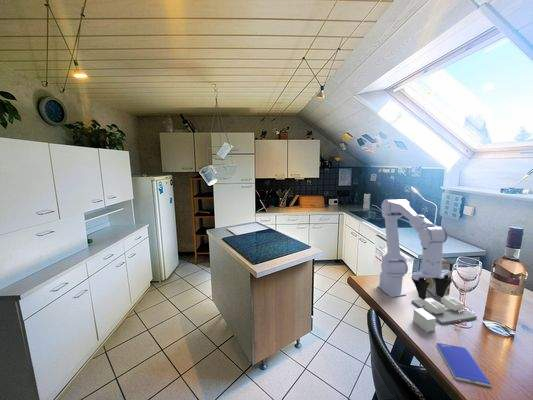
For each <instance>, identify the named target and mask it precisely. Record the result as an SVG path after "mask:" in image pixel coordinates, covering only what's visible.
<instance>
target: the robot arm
mask: <svg viewBox="0 0 533 400" xmlns="http://www.w3.org/2000/svg"><path fill="white" fill-rule="evenodd" d="M380 206H381V215H382V218H384V223H385V226H384V227H385V236H386V237H385V238H386V249H387V253H386V254H384V255H383V256H382V257H381V264H380V266H381V272H380V273H379V285H377V288H379V289H380V290H381V291H383V292H384V293H386V295H387V296H389V297H391V298H394V297H402V296H407V293H405V292H404V291H403V277H405V275H407V274H408V271H409V266H408V262H407V258H406V257H405V256H403V255H402V254H401V249H400V239H399V238H400V237H399V228H398V220H399V219H400V218H401V217H403V216H404V217H405V218H406V219H407V220H409V225H410V227H412V228H413V229H414V230H415V231H416V232H417V233H418V237H419V238H418V239H419V240H420V246H421V247H422V250H421V251H422V254H421V255H422V257H421V260H422V261H421V270H418V271H415V272H412V273H411V281H412V282H413V284H414V286H415V289H416V291H417V295H418V298H420V299H423V300H425V299H426V298H427V292H428V291H427V290H428V289H427V288H428V285H429V284H430V283H428V282H426V281H425V278H434V279H435V284H436V294H437V295H438V296H437V297H439V296H440V297H444V294H445V291H446V289H447V287H448V286H449V284H450V285H451V283H452V282H453V279H452V275H451V271H448V270H442V257H443V243H446V242H447V240H448V233H447V231H446V229H445V227H443V226H441V225H439V226H438V225H435V224H434V223H433V222H432V221H430V220H429V219H428V218H426V216H425V215H424V214H417V212H416V211H415V210H414V209H413V208H412V207H411V203H410V201H408V200H407V199H406V198H403V199H383V201H382V203H381V205H380ZM448 277H451V278H448Z"/></svg>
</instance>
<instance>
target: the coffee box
mask: <svg viewBox="0 0 533 400" xmlns="http://www.w3.org/2000/svg"><path fill="white" fill-rule="evenodd" d="M453 266H454V263H452V262H451V261H450V260H448V259H446V258H444V257H443V256H442V270H448V271H451V277H448V278H451V279H452V272H453V268H454V267H453ZM424 280H425V281H426V282H428V283H430V284H429V285H428V288H427V290H428V291H429V293H431V294H432V295H433V297H439V296H438V295H437V294H436V284H435V279H434V278H425V279H424ZM450 289H451V283H450V284H449V286H448V287H447V289H446V291H445V294H444V296H447V295H450Z"/></svg>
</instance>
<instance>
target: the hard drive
mask: <svg viewBox="0 0 533 400" xmlns="http://www.w3.org/2000/svg"><path fill="white" fill-rule="evenodd" d="M436 348H437V349H438V351H439V353H440V354H441V357H442V358H443V360H444V362H445V363H446V366H447V367H448V369H449V371H450V373H451V374H452V376H453V378H454V379H455V380H458V381H464V382H467V383H472V384H477V385H481V386H486V387H492V383H491V381H489V379H488V378H487V376H486V375H485V373H484V372H483V371H482V369H481V368H480V366H479V365H478V363H477V362H476V360H475V359H474V357H473V356H472V354H471V353H470V352H469V350H468V349H467V348H466V347H463V346H457V345H453V344H452V345H451V344H448V343H447V344H446V343H441V342H436Z"/></svg>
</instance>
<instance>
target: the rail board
mask: <svg viewBox="0 0 533 400" xmlns="http://www.w3.org/2000/svg"><path fill="white" fill-rule="evenodd" d="M411 304H413V305H414V306H415V307H417V309H419V308H423V309H424V310H425V311H427V312H428V313H429V314H431V315H432V316H434V317H435V318H436V322H437V323H438V324H440V325H442V326H443V325H448V324H453V322H455V323H457V322H456V321H459V320H466V321H471V320H476V319H478V316H477V315H475V314H474V313H472V312H470V311H468V310H467V309H465V310H464V311H462V312H460V313H459V312H458V310H463V308H464V305H465V304H464V303H463V302H462V301H460V300H458V299H456V298H455V297H453V296H451V295H450V294H449V295H447V296H444V297H440V296H433V297H426V299H425V300H423V299H421V298H420V299H411Z"/></svg>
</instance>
